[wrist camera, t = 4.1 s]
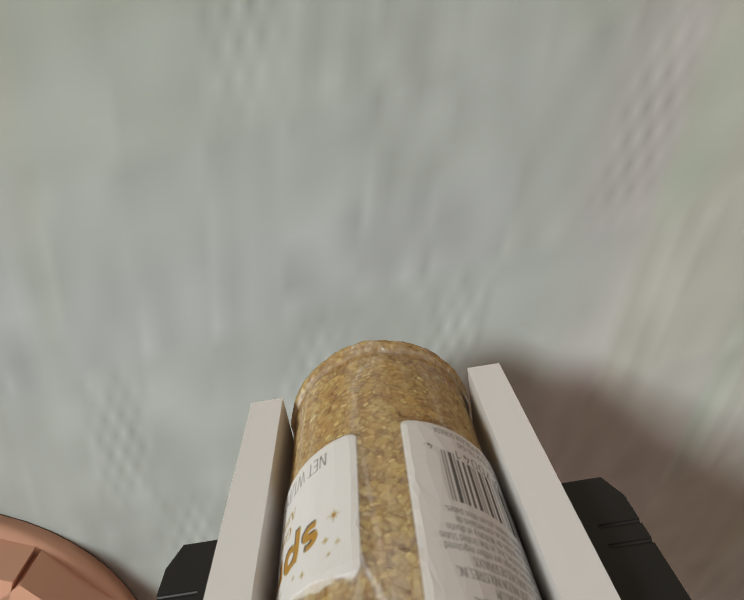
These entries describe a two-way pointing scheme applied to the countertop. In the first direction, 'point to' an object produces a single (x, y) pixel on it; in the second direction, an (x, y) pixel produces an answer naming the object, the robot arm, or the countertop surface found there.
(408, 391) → the sprinkles bottle
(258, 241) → the countertop surface
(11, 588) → the saucer
